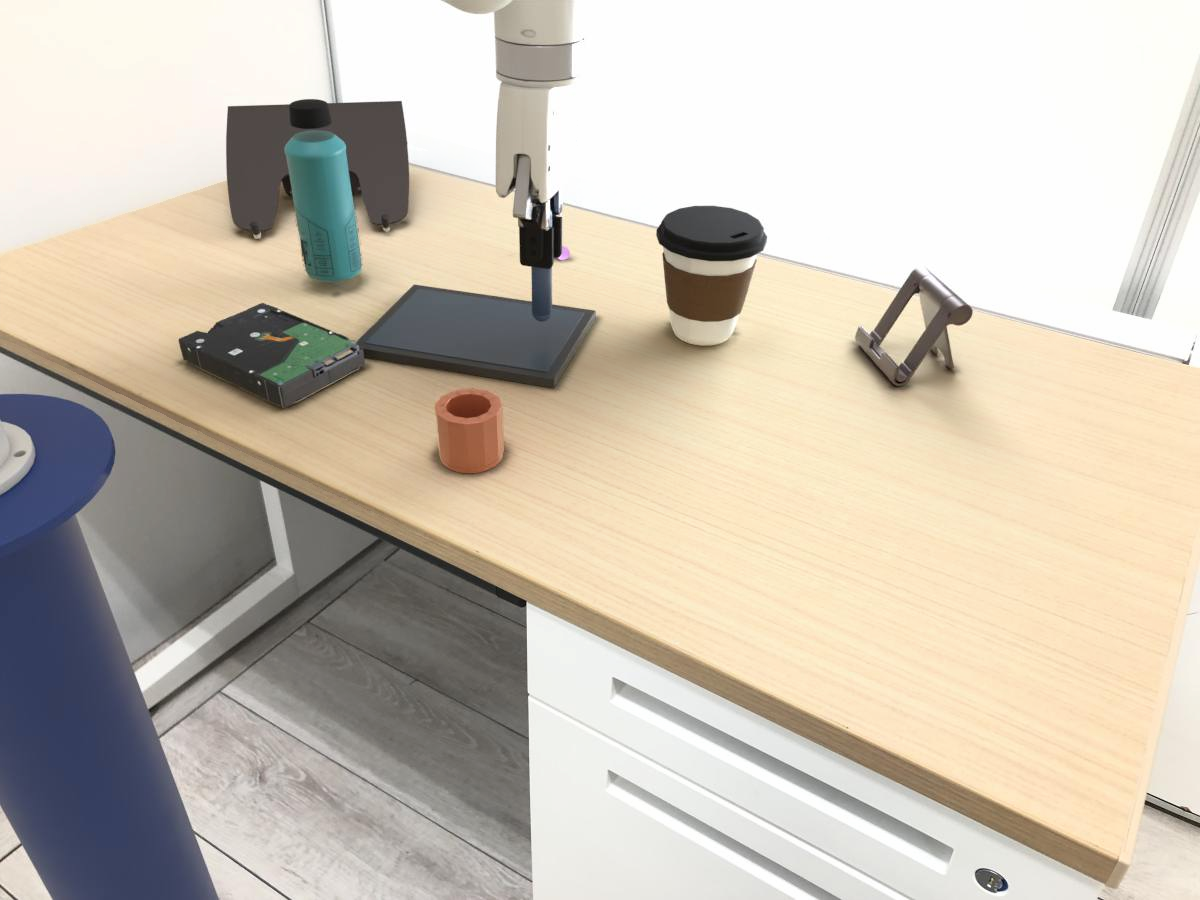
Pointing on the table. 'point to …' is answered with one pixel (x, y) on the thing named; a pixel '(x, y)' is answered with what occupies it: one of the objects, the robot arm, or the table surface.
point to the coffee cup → (708, 269)
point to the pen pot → (470, 430)
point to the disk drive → (272, 354)
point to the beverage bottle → (322, 195)
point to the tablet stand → (937, 314)
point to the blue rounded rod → (542, 289)
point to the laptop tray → (360, 125)
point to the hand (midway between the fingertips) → (541, 259)
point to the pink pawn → (564, 253)
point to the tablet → (478, 335)
